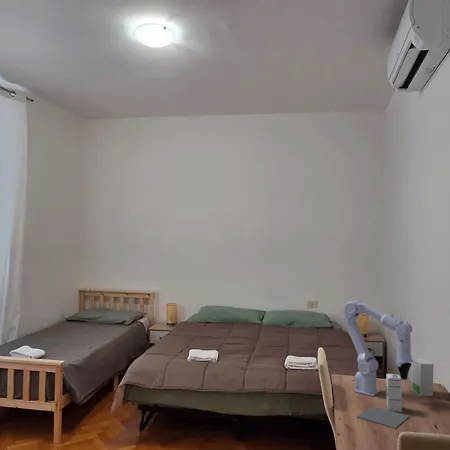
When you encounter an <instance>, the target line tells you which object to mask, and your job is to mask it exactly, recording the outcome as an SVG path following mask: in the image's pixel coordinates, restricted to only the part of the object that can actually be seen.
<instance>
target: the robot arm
mask: <svg viewBox="0 0 450 450" xmlns="http://www.w3.org/2000/svg"><path fill="white" fill-rule="evenodd" d="M342 308H343V313H344V314H343V315H344V316H343V321H344V324H345V328H346V329H347V332H348V334H349V336H350V338H351V341H352V345H353V347H354V349H355V351H356V354H357V364H358V365H357V367H358V371H357V372H356V373H355V376H354V378H355V379H354V392H356V393H359V394H364V395H367V396H371V397H374V396H376V395H377V394H378V393H380V392H381V391H380V390H378V389H377V370H378V369H379V362H378V360H377V359H376V358H375V357H374V355H373V354H372V353H371V352H370V351H369V349H368V346H367V344H366V342H365V338H364V336H363V334H362V332H361V330H360V327H359V325H358V322H357V320H358V318H359V316H360V314H367V315H369V316H370V317H373V318H375V319H377V320H379V321H380V323H381V325H383V326H384V327H387V328H388V329H390V330H392V331H394V333H395V334H396V335H397V336H396V338H397V339H396V350H397V351H396V353H397V354H396V357H397V358H396V360H395V367H397V369H398V371H399V376H400V377H401V380H405V381H406V380H407V379H408V375H409V371H410V369H411V366H413V358H412V355H411V354H412V353H411V352H412V351H411V348H412V345H411V343H412V341H411V333H412V332H413V326H412V324H411V323H409V321H403V320H402V319H399V318H397V317H395V316H394V315H393V314H392V313H385V314H384V313H382V312H381V311H379V310H378V309H376V308H374V307H373V306H371V305H370V304H369V303H367V302H365V301H363V300H361V299H355V300H352V301H347V302H345V304H344V305H343V307H342Z"/></svg>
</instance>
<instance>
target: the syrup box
mask: <svg viewBox="0 0 450 450" xmlns="http://www.w3.org/2000/svg"><path fill="white" fill-rule="evenodd" d="M385 376H386V377H385V380H386V381H385V382H386V383H385V384H386V385H385V386H386V408H387V410H389V411H393V412H397V413H403V395H402V393H403V391H402V379H401V376H400V374H395V373H386V375H385Z"/></svg>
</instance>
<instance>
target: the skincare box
mask: <svg viewBox="0 0 450 450" xmlns="http://www.w3.org/2000/svg"><path fill="white" fill-rule="evenodd" d="M412 360H413V362H412V378H411V380H412V381H411V382H412V383H411V390H412V391H413V392H414V393H415V394H417V395H418V396H419V397H433V395H434V369H435V367H434V364H435V363H433V362H431V360H428V359H426V358H424V357H423V358H412Z"/></svg>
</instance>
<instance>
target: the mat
mask: <svg viewBox="0 0 450 450" xmlns="http://www.w3.org/2000/svg"><path fill="white" fill-rule="evenodd" d="M356 418H358V419H361V420H363V421H368V422H372V423H376V424H378V425H381V426H385V427H388V428H391V429H397V428H398V427H400V425H402V424H403V423H404V422H405V421H407V420H408V419H409V418H410V415H406V414H403V413H401V412H395V411H389V410H388V409H386V408H382V407H381V408H380V407H377V406H374V405H372V406H370V407H369V408H367V409H366V410H365V411H363V412H362V413H360V414H359V415H357V417H356ZM407 418H408V419H407Z"/></svg>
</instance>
